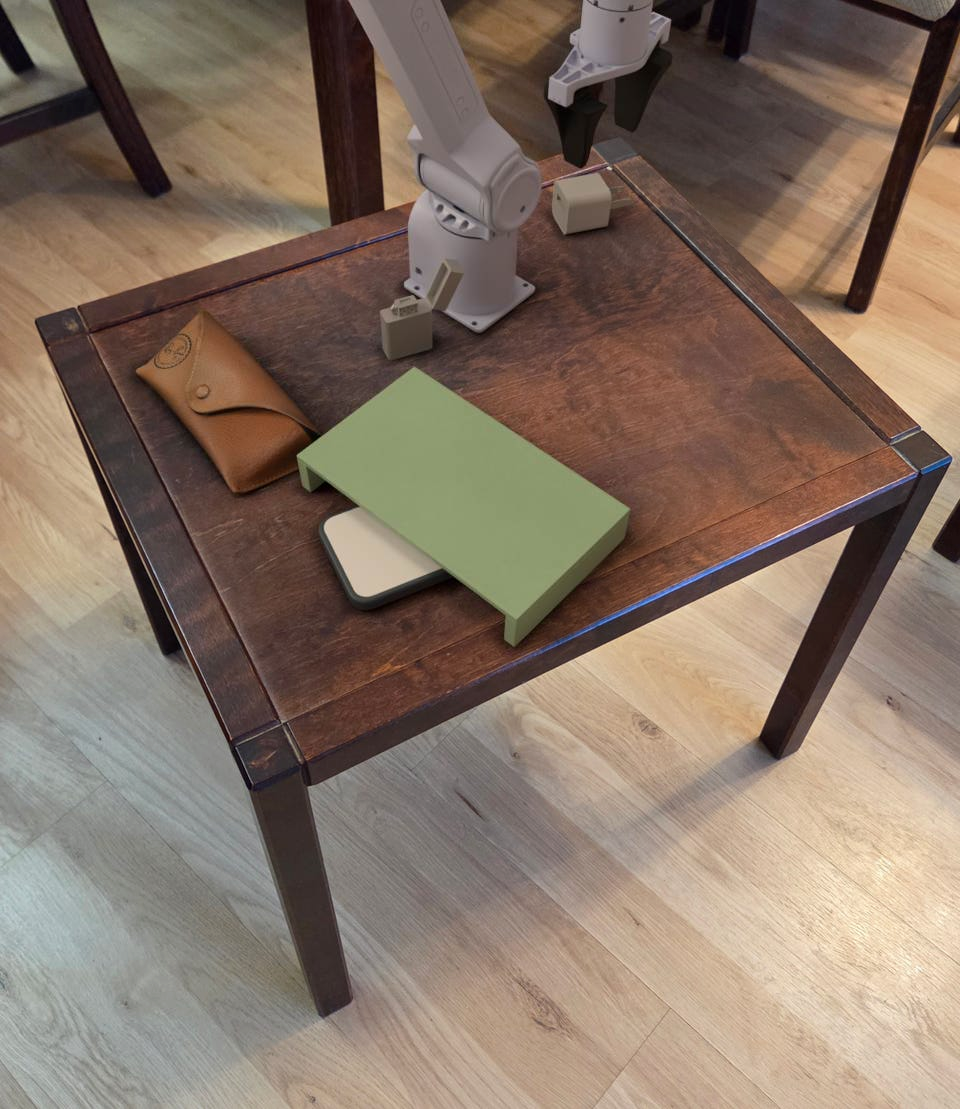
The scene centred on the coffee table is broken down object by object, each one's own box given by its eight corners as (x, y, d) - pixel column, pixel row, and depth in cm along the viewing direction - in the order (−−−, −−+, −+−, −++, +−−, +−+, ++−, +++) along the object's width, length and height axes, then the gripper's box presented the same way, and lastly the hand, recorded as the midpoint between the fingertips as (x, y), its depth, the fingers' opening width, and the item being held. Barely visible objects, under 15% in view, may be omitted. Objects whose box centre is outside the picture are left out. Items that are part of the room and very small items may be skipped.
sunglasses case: (125, 369, 89) (145, 300, 86) (197, 369, 95) (218, 304, 91) (236, 500, 81) (263, 430, 78) (307, 492, 87) (335, 426, 83)
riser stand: (302, 486, 83) (296, 455, 80) (415, 398, 89) (414, 366, 86) (514, 647, 75) (516, 619, 72) (624, 538, 81) (631, 508, 78)
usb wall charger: (551, 212, 104) (554, 177, 101) (616, 200, 105) (621, 165, 102) (565, 237, 102) (569, 202, 98) (632, 224, 103) (637, 189, 100)
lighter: (389, 361, 91) (383, 288, 85) (382, 348, 92) (376, 275, 86) (464, 339, 93) (464, 266, 87) (456, 326, 94) (456, 253, 88)
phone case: (358, 620, 76) (553, 541, 80) (355, 608, 75) (554, 528, 79) (314, 532, 81) (501, 461, 85) (311, 519, 79) (501, 448, 83)
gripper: (632, -53, 91) (614, 95, 102) (523, 10, 84) (516, 161, 95) (700, -25, 88) (673, 124, 99) (593, 42, 81) (577, 193, 92)
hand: (600, 144), depth 97 cm, fingers open, 7 cm apart
